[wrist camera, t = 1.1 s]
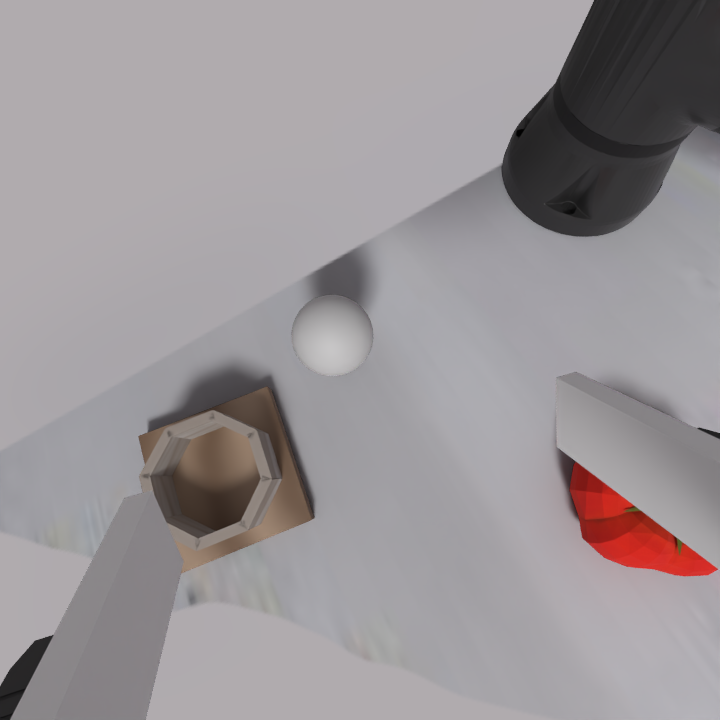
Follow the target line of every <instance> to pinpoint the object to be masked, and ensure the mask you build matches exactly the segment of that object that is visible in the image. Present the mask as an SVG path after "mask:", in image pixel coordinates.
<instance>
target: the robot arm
mask: <svg viewBox="0 0 720 720" xmlns="http://www.w3.org/2000/svg"><path fill="white" fill-rule="evenodd" d="M698 125H699V126H702V127H704V128H707V129H709V130H712V131H714V132H717V133H719V134H720V0H594V2H593V4H592V6H591V9H590V11H589V13H588V15H587V17H586V19H585V21H584V23H583V26H582V28H581V30H580V32H579V34H578V36H577V38H576V40H575V43H574V45H573V47H572V49H571V51H570V53H569V55H568V57H567V59H566V62H565V63H564V66H563V68H562V70H561V72H560V75H559V77H558V79H557V81H556V83H555V84H554V86H553V87H552V88H551V89H550V90H549V91H548V92H547V93H546V94H545V95H544V97H543V98H542V99H541V100H540V101H539V102H538V103H537V104H536V105H535V106H534V108H533V109H532V110H531V111H530V112H529V113H528V114H527V115H526V116H525V117H524V119H523V120H522V121H521V122H520V124H519V125H518V126H517V128H516V130H515V131H514V133H513V135H512V137H511V140H510V142H509V145H508V147H507V149H506V152H505V155H504V159H503V166H502V172H503V180H504V184H505V187H506V189H507V192H508V194H509V196H510V197H511V199H512V200H513V202H514V203H515V205H516V206H517V207H518V208H519V209H520V210H521V211H522V212H523V213H524V214H525V215H526V216H527V217H529V218H530V219H531V220H533V221H534V222H536V223H537V224H539V225H541V226H543V227H545V228H547V229H549V230H552V231H555V232H558V233H561V234H566V235H571V236H598V235H603V234H607V233H610V232H613V231H616V230H618V229H620V228H622V227H624V226H625V225H627V224H629V223H630V222H631V221H632V220H634V219H635V218H636V217H637V216H638V215H639V214H640V213H641V212H642V211H643V210H644V209H645V208H646V207H647V206H648V205H649V204H650V203H651V202H652V200H653V199H654V198H655V196H656V195H657V193H658V192H659V190H660V188H661V186H662V183H663V180H664V178H665V176H666V174H667V172H668V170H669V168H670V166H671V164H672V162H673V160H674V157H675V155H676V153H677V151H678V149H679V146H680V144H681V143H682V141H683V140H684V139H685V138H686V137H687V136H688V135H689V134H690V133H691V132H692V131H693V130H694V129H695V128H696V127H697V126H698ZM556 425H557V447H558V448H559V449H560V450H562V451H563V452H564V453H566V454H567V455H568V456H569V457H571V458H572V459H573V460H575V461H576V462H577V463H579V464H580V465H581V466H583V467H584V468H585V469H587V470H588V471H589V472H591V473H592V474H593V475H595V476H596V477H597V478H599V479H600V480H601V481H603V482H604V483H605V484H606V485H608V486H609V487H610V488H612V489H613V490H614V491H616V492H617V493H618V494H620V495H621V496H622V497H624V498H625V499H626V500H628V501H629V502H630V503H632V504H633V505H634V506H636V507H637V508H638V509H640V510H641V511H642V512H643V513H645V514H646V515H647V516H649V517H650V518H651V519H653V520H654V521H655V522H657V523H658V524H659V525H661V526H662V527H663V528H665V529H666V530H667V531H669V532H670V533H671V534H673V535H674V536H675V537H677V538H678V539H679V540H680V541H682V542H683V543H684V544H686V545H687V546H688V547H690V548H691V549H692V550H694V551H695V552H696V553H698V554H699V555H700V556H702V557H703V558H704V559H706V560H707V561H708V562H710V563H711V564H712V565H714V566H715V567H716V568H717V569H719V570H720V433H717V432H714V431H710V430H706V429H702V428H695V427H692V426H690V425H688V424H686V423H684V422H682V421H680V420H677V419H675V418H673V417H671V416H669V415H667V414H665V413H663V412H660V411H658V410H656V409H654V408H652V407H650V406H648V405H645V404H643V403H641V402H639V401H637V400H635V399H633V398H631V397H628V396H626V395H624V394H622V393H620V392H618V391H616V390H614V389H611V388H609V387H607V386H605V385H603V384H601V383H599V382H596V381H594V380H592V379H590V378H588V377H586V376H584V375H582V374H579V373H577V372H574V373H570V374H567V375H563V376H560V377H556ZM183 562H184V561H183V559H182V557H181V554H180V552H179V550H178V548H177V545H176V543H175V541H174V539H173V536H172V534H171V532H170V530H169V527H168V525H167V523H166V521H165V518H164V516H163V514H162V512H161V509H160V507H159V505H158V502H157V500H156V498H155V496H154V493H153V491H152V490H151V491H148V492H144V493H141V494H137V495H133V496H130V497H126V498H124V500H123V502H122V504H121V506H120V507H119V509H118V511H117V513H116V515H115V517H114V519H113V521H112V523H111V525H110V527H109V529H108V531H107V533H106V535H105V537H104V539H103V540H102V542H101V544H100V546H99V548H98V550H97V552H96V554H95V556H94V558H93V560H92V562H91V564H90V566H89V568H88V570H87V572H86V574H85V576H84V577H83V579H82V581H81V583H80V585H79V587H78V589H77V591H76V593H75V595H74V597H73V599H72V601H71V603H70V604H69V607H68V608H67V610H66V612H65V614H64V616H63V618H62V620H61V622H60V624H59V626H58V628H57V630H56V632H55V634H54V635H52V636H49V637H45V638H43V639H39V640H36V641H34V643H33V644H32V645H31V646H30V647H29V648H28V649H27V651H26V652H25V653H24V654H23V655H22V656H21V657H20V658H19V660H18V661H17V662H16V663H15V664H14V665H13V666H12V668H11V669H10V670H9V672H8V674H7V675H6V677H5V679H4V681H3V682H2V684H1V686H0V720H146V716H147V712H148V707H149V703H150V699H151V695H152V691H153V687H154V683H155V678H156V674H157V670H158V666H159V661H160V657H161V654H162V649H163V645H164V641H165V637H166V633H167V629H168V625H169V620H170V616H171V612H172V608H173V604H174V600H175V596H176V591H177V587H178V583H179V579H180V575H181V571H182V567H183Z"/></svg>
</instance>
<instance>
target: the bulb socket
mask: <svg viewBox="0 0 720 720" xmlns="http://www.w3.org/2000/svg"><path fill="white" fill-rule="evenodd" d="M138 437H139V441H140V445H141V449H142V454H143V458H144V462H145V466H144V468H143V470H142V471H141V473H140V475H139V478H140V482H141V487H142V491H143V493H144V492H148V491H151V490H152V491H153V493H154V496H155V498H156V500H157V502H158V505H159V507H160V509H161V512H162V514H163V516H164V518H165V521H166V523H167V525H168V527H169V530H170V532H171V534H172V536H173V539H174V541H175V543H176V545H177V548H178V550H179V552H180V554H181V557H182V559H183V561H184V562H183V567H182V571H181V573H183V572H186V571H188V570H191V569H193V568H195V567H198V566H200V565H203V564H205V563H208V562H210V561H213V560H215V559H217V558H220V557H222V556H225V555H227V554H230V553H232V552H235V551H237V550H239V549H242V548H244V547H247V546H249V545H252V544H254V543H257V542H259V541H261V540H264V539H266V538H269V537H271V536H274V535H276V534H279V533H281V532H283V531H286V530H288V529H291V528H293V527H296V526H298V525H301V524H303V523H305V522H308V521H310V520H312V519H314V515H313V512H312V509H311V506H310V503H309V500H308V497H307V494H306V491H305V488H304V485H303V482H302V479H301V476H300V473H299V470H298V467H297V464H296V461H295V458H294V455H293V452H292V449H291V446H290V443H289V440H288V437H287V434H286V431H285V428H284V425H283V423H282V420H281V417H280V414H279V411H278V408H277V405H276V402H275V399H274V396H273V393H272V390H271V389H270V388H269V387H265V388H262V389H259V390H257V391H254V392H252V393H249V394H246V395H244V396H241V397H239V398H236V399H233V400H231V401H228V402H226V403H223V404H220V405H218V406H215V407H213V408H210V409H208V410H205V411H202V412H200V413H197V414H195V415H192V416H189V417H187V418H184V419H182V420H179V421H176V422H174V423H171V424H169V425H166V426H163V427H161V428H158V429H156V430H153V431H151V432H148V433H145V434H143V435H140V436H138Z"/></svg>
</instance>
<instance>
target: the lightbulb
mask: <svg viewBox="0 0 720 720" xmlns="http://www.w3.org/2000/svg"><path fill="white" fill-rule="evenodd" d="M372 343H373V328H372V324H371V321H370V319H369V317H368V315H367V313H366V312H365V311H364V310H363V308H362V307H361V306H360V305H358V304H357V303H356V302H355V301H353V300H351V299H349V298H347V297H343V296H340V295H324V296H320V297H317V298H315V299H313V300H311V301H310V302H308V303H307V304H306V305H305V306H304V307H303V308H302V309H301V310H300V311H299V313H298V314H297V316H296V318H295V320H294V323H293V327H292V344H293V349H294V351H295V353H296V355H297V357H298V358H299V360H300V361H301V362H302V364H304V365H305V366H306V367H307V368H308V369H310V370H311V371H313V372H315V373H318V374H321V375H325V376H340V375H344V374H347V373H349V372H351V371H353V370H355V369H356V368H357V367H359V366H360V365H361V364H362V363H363V362H364V361H365V360H366V358H367V356H368V355H369V353H370V350H371V347H372Z"/></svg>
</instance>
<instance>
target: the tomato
mask: <svg viewBox="0 0 720 720" xmlns="http://www.w3.org/2000/svg"><path fill="white" fill-rule="evenodd" d="M570 492H571V495H572V498H573V501H574V504H575V507H576V510H577V513H578V516H579V521H580V527H581V533H582V538H583V539H584V540H585V541H586V542H587V543H589V544H590V545H591V546H592V547H593V548H594V549H595V550H596V551H597V552H598V553H600V554H601V555H602V556H603V557H604V558H606V559H609V560H611V561H614V562H616V563H619V564H621V565H624V566H626V567H635V568H646V569H655V570H658V571H662V572H666V573H669V574H673V575H679V576H701V575H709V574H711V573H712V572H714V571H716V570H718V569H717V568H716V567H715V566H714V565H712V564H711V563H710V562H708V561H707V560H706V559H704V558H703V557H702V556H700V555H699V554H698V553H696V552H695V551H694V550H692V549H691V548H690V547H688V546H687V545H686V544H684V543H683V542H682V541H680V540H679V539H678V538H677V537H675V536H674V535H673V534H671V533H670V532H669V531H667V530H666V529H665V528H663V527H662V526H661V525H659V524H658V523H657V522H655V521H654V520H653V519H651V518H650V517H649V516H647V515H646V514H645V513H643V512H642V511H641V510H640V509H638V508H637V507H636V506H634V505H633V504H632V503H630V502H629V501H628V500H626V499H625V498H624V497H622V496H621V495H620V494H618V493H617V492H616V491H614V490H613V489H612V488H610V487H609V486H608V485H606V484H605V483H604V482H603V481H601V480H600V479H599V478H597V477H596V476H595V475H593V474H592V473H591V472H589V471H588V470H587V469H585V468H584V467H583V466H581V465H580V464H579V463H577V462H575V464H574V465H573V471H572V478H571V484H570Z"/></svg>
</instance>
